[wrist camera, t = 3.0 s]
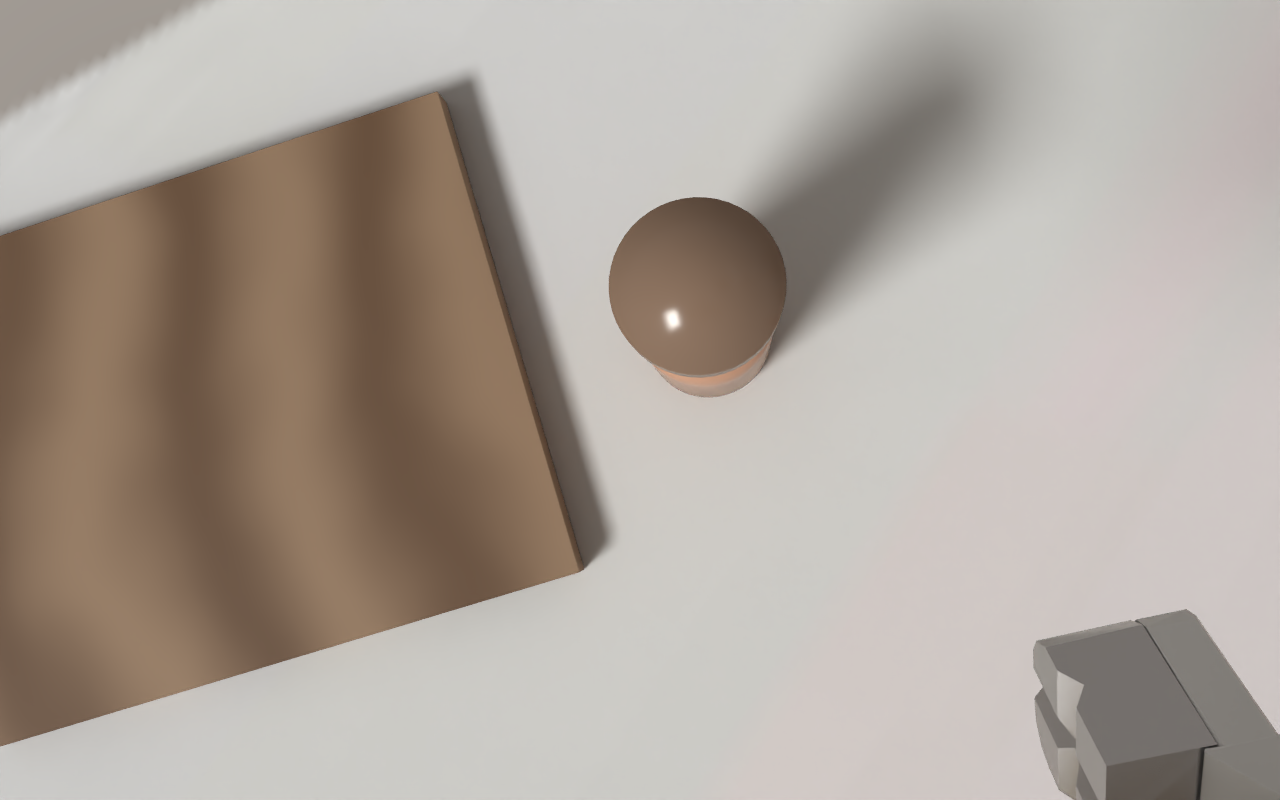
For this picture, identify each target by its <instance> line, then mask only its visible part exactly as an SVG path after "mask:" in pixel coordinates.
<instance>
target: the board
mask: <svg viewBox="0 0 1280 800" xmlns="http://www.w3.org/2000/svg"><path fill="white" fill-rule="evenodd" d="M582 570H584V566H583V563H582V560H581V556H580V553H579V550H578V546H577V543H576V539H575V536H574V533H573V529H572V526H571V522H570V519H569V516H568V512H567V509H566V506H565V502H564V499H563V495H562V492H561V489H560V485H559V482H558V478H557V475H556V472H555V468H554V465H553V462H552V458H551V455H550V451H549V448H548V445H547V441H546V438H545V435H544V431H543V428H542V424H541V421H540V418H539V414H538V411H537V407H536V404H535V401H534V397H533V394H532V391H531V387H530V384H529V380H528V377H527V374H526V370H525V367H524V363H523V360H522V357H521V353H520V350H519V347H518V343H517V340H516V336H515V333H514V330H513V326H512V323H511V319H510V316H509V313H508V309H507V306H506V303H505V299H504V296H503V292H502V289H501V286H500V282H499V279H498V275H497V272H496V269H495V265H494V262H493V259H492V255H491V252H490V248H489V245H488V242H487V238H486V235H485V231H484V228H483V225H482V221H481V218H480V215H479V211H478V208H477V204H476V201H475V198H474V194H473V191H472V187H471V184H470V181H469V177H468V174H467V171H466V167H465V164H464V160H463V157H462V154H461V150H460V147H459V143H458V140H457V137H456V133H455V130H454V127H453V123H452V120H451V116H450V113H449V110H448V106H447V103H446V102H445V101H444V99H443V98H442V97H441V95H440V94H439V93H438V92H434V93H431V94H428V95H425V96H422V97H419V98H416V99H413V100H410V101H407V102H404V103H401V104H398V105H395V106H392V107H389V108H386V109H383V110H380V111H377V112H374V113H371V114H367V115H364V116H361V117H358V118H355V119H352V120H349V121H346V122H343V123H340V124H337V125H334V126H331V127H328V128H325V129H322V130H319V131H316V132H313V133H310V134H307V135H304V136H301V137H298V138H295V139H292V140H289V141H286V142H283V143H280V144H277V145H274V146H271V147H268V148H265V149H262V150H259V151H256V152H253V153H250V154H247V155H244V156H241V157H238V158H235V159H231V160H228V161H225V162H222V163H219V164H216V165H213V166H210V167H207V168H204V169H201V170H198V171H195V172H192V173H189V174H186V175H183V176H180V177H177V178H174V179H171V180H168V181H165V182H162V183H159V184H156V185H153V186H150V187H147V188H144V189H141V190H138V191H135V192H132V193H129V194H126V195H123V196H120V197H117V198H114V199H111V200H108V201H105V202H102V203H99V204H96V205H92V206H89V207H86V208H83V209H80V210H77V211H74V212H71V213H68V214H65V215H62V216H59V217H56V218H53V219H50V220H47V221H44V222H41V223H38V224H35V225H32V226H29V227H26V228H23V229H20V230H17V231H14V232H11V233H8V234H5V235H2V236H0V746H3V745H7V744H10V743H13V742H17V741H20V740H23V739H27V738H30V737H33V736H37V735H40V734H43V733H47V732H50V731H53V730H57V729H60V728H63V727H66V726H70V725H73V724H76V723H80V722H83V721H86V720H90V719H93V718H96V717H100V716H103V715H106V714H110V713H113V712H116V711H120V710H123V709H126V708H130V707H133V706H136V705H140V704H143V703H146V702H150V701H153V700H156V699H160V698H163V697H166V696H169V695H173V694H176V693H179V692H183V691H186V690H189V689H193V688H196V687H199V686H203V685H206V684H209V683H213V682H216V681H219V680H223V679H226V678H229V677H233V676H236V675H239V674H243V673H246V672H249V671H253V670H256V669H259V668H262V667H266V666H269V665H272V664H276V663H279V662H282V661H286V660H289V659H292V658H296V657H299V656H302V655H306V654H309V653H312V652H316V651H319V650H322V649H326V648H329V647H332V646H336V645H339V644H342V643H346V642H349V641H352V640H355V639H359V638H362V637H365V636H369V635H372V634H375V633H379V632H382V631H385V630H389V629H392V628H395V627H399V626H402V625H405V624H409V623H412V622H415V621H419V620H422V619H425V618H429V617H432V616H435V615H439V614H442V613H445V612H449V611H452V610H455V609H458V608H462V607H465V606H468V605H472V604H475V603H478V602H482V601H485V600H488V599H492V598H495V597H498V596H502V595H505V594H508V593H512V592H515V591H518V590H522V589H525V588H528V587H532V586H535V585H538V584H542V583H545V582H548V581H551V580H555V579H558V578H561V577H565V576H568V575H571V574H575V573H578V572H580V571H582Z"/></svg>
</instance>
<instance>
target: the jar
mask: <svg viewBox="0 0 1280 800" xmlns="http://www.w3.org/2000/svg"><path fill="white" fill-rule="evenodd" d="M785 296H786V273H785V267H784V263H783V259H782V256H781V253H780V251H779V248H778V246H777V244H776V243H775V241H774V239H773V237H772V236H771V234H770V233H769V232H768V230H767V229H766V228H765V227H764V226H763V225H762V224H761V223H760V222H759V221H758V220H757V219H756V218H755V217H753V216H752V215H751V214H750V213H748V212H747V211H745V210H743V209H742V208H740V207H738V206H736V205H733V204H731V203H729V202H725V201H722V200H718V199H712V198H702V197H693V198H684V199H679V200H675V201H671V202H669V203H666V204H664V205H661V206H659V207H657V208H655V209H654V210H652V211H650V212H649V213H647V214H646V215H645V216H643V217H642V218H641V219H639V220H638V221H637V222H636V223H635V224H634V225H633V226H632V227H631V229H630V230H629V231H628V232H627V233H626V235H625V236H624V238H623V239H622V241H621V243H620V244H619V246H618V248H617V251H616V253H615V255H614V258H613V261H612V265H611V270H610V276H609V297H610V303H611V307H612V312H613V314H614V317H615V320H616V322H617V324H618V326H619V328H620V330H621V332H622V333H623V335H624V336H625V337H626V339H627V340H628V342H629V343H630V344H631V345H632V346H633V347H634V349H635V350H636V351H637V352H638V353H639V354H640V355H641V356H642V357H644V358H645V359H646V360H647V361H649V362H650V363H651V364H652V365H653V366H654V367H655V369H656V370H657V371H658V372H659V374H660V375H661V376H662V377H663V378H664V379H665V380H666V381H667V382H668V383H669V384H671V385H672V386H673V387H675V388H677V389H678V390H680V391H682V392H685V393H687V394H690V395H694V396H699V397H719V396H723V395H727V394H730V393H732V392H735V391H737V390H739V389H740V388H742V387H744V386H745V385H746V384H748V383H749V382H750V381H751V380H752V379H753V378H754V377H755V376H756V375H757V374H758V372H759V371H760V370H761V368H762V366H763V365H764V363H765V361H766V358H767V356H768V353H769V349H770V345H771V341H772V336H773V334H774V332H775V330H776V328H777V326H778V323H779V321H780V318H781V314H782V311H783V307H784V302H785Z"/></svg>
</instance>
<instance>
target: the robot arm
mask: <svg viewBox="0 0 1280 800" xmlns="http://www.w3.org/2000/svg"><path fill="white" fill-rule="evenodd" d="M1033 666H1034V670H1035V672H1036V674H1037V676H1038V678H1039V680H1040V682H1041V684H1042V686H1043V688H1042V689H1041V690H1040V692H1039V693H1038V694H1037V695H1036V697H1035V698H1034V699H1035V713H1036V723H1037V728H1038V732H1039V737H1040V741H1041V746H1042V749H1043V752H1044V755H1045V758H1046V760H1047V763H1048V766H1049V769H1050V771H1051V773H1052V775H1053V778H1054V780H1055V782H1056V784H1057V787H1058V789H1059V790H1060V791H1061V792H1063V793H1065V794H1066V795H1068V796H1069V797H1071V798H1072V799H1074V800H1280V734H1279V735H1278V733H1277V732H1276V730H1275V729H1274V728H1273V726H1272V725H1271V723H1270V722H1269V720H1268V719H1267V717H1266V716H1265V715H1264V713H1263V712H1262V710H1261V709H1260V707H1259V706H1258V704H1257V703H1256V702H1255V700H1254V699H1253V697H1252V696H1251V694H1250V693H1249V691H1248V690H1247V689H1246V687H1245V686H1244V684H1243V683H1242V681H1241V680H1240V678H1239V677H1238V676H1237V674H1236V673H1235V671H1234V670H1233V668H1232V667H1231V665H1230V664H1229V663H1228V661H1227V660H1226V658H1225V657H1224V655H1223V654H1222V652H1221V651H1220V650H1219V648H1218V647H1217V645H1216V644H1215V642H1214V641H1213V639H1212V638H1211V637H1210V635H1209V634H1208V632H1207V631H1206V629H1205V628H1204V626H1203V625H1202V624H1201V622H1200V621H1199V619H1198V618H1197V616H1196V615H1194V614H1193V613H1191V612H1190V611H1188V610H1187V609H1185V610H1181V611H1176V612H1171V613H1166V614H1161V615H1157V616H1152V617H1147V618H1142V619H1137V620H1135V621H1131V620H1129V621H1125V622H1120V623H1116V624H1111V625H1107V626H1102V627H1097V628H1093V629H1088V630H1084V631H1079V632H1074V633H1070V634H1065V635H1061V636H1056V637H1051V638H1047V639H1042V640H1038V641H1036V643H1035V646H1034V649H1033Z"/></svg>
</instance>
